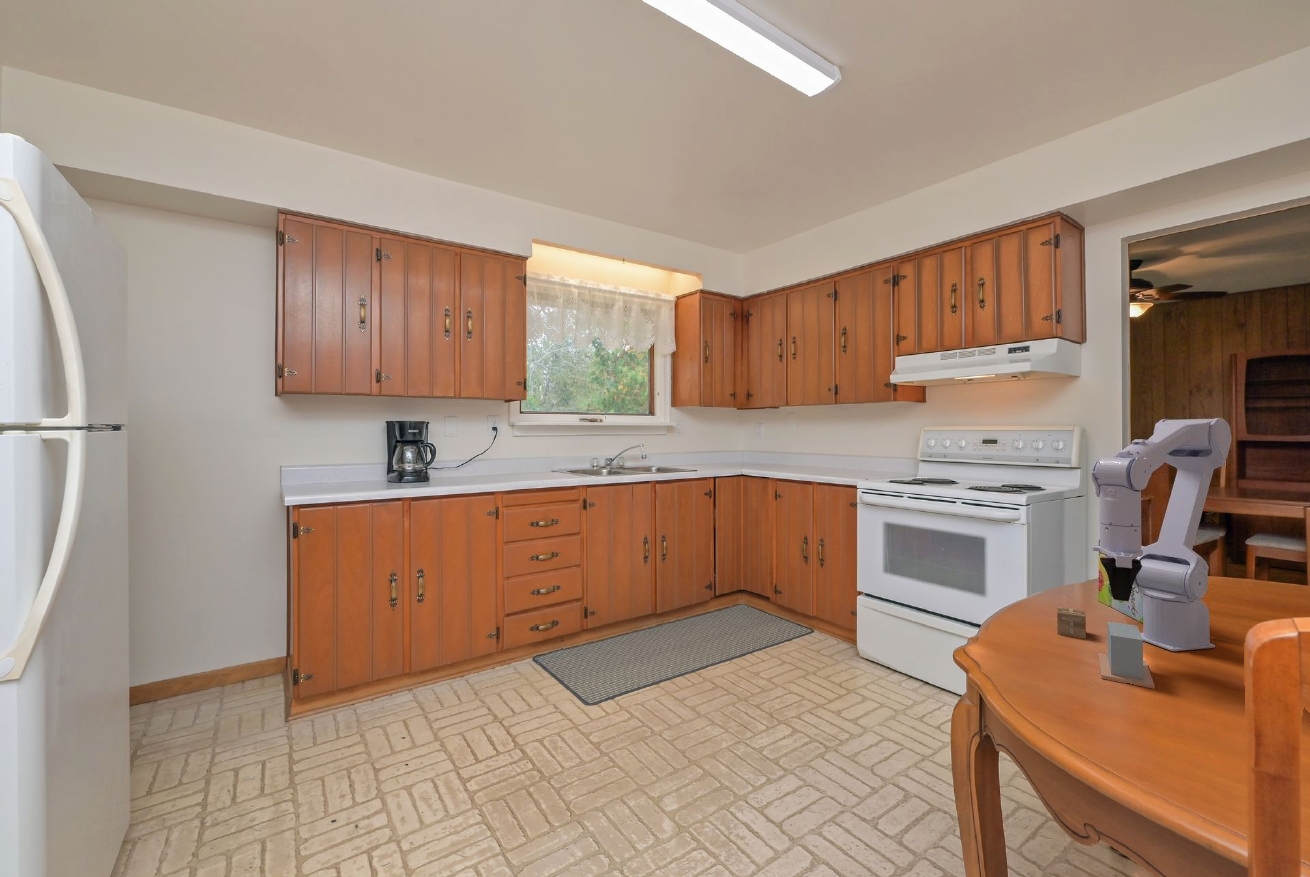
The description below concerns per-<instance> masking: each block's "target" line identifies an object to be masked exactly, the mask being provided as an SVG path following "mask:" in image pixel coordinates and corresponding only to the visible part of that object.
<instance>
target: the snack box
mask: <svg viewBox="0 0 1310 877" xmlns="http://www.w3.org/2000/svg"><path fill="white" fill-rule="evenodd" d="M1098 546H1100V538H1099V539H1098ZM1143 547H1145V546H1144V545H1141V548H1143ZM1101 557H1105V558H1112V557H1111V556H1108V555H1106V554H1104V553H1101V552H1099V551H1098V586H1097V587H1098V595H1097V599H1098V602H1100V603H1102V604H1104V605H1106V606H1107V607H1110V608H1112V609H1114V610H1116V611H1118V612H1120V613H1122V614H1124V615H1126V616H1128V617H1129V618H1131V619H1133V620H1136V622H1139V623H1142V624H1143V593H1139V588H1137V587H1135V585H1134V584H1133V587H1132V591H1131V595H1130V599H1129V601H1120V600H1114V599H1113V596H1112V593H1111V589H1110V584H1109V579H1108V575H1107V572H1106V570H1105V568H1104V567H1103V565H1102V563H1101V561H1100V558H1101ZM1135 559H1136V558H1135Z"/></svg>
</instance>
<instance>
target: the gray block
mask: <svg viewBox="0 0 1310 877" xmlns="http://www.w3.org/2000/svg"><path fill="white" fill-rule="evenodd" d="M1106 625H1107V655H1108V662H1109V666H1110V671H1111V674H1112V675H1117V676H1122V677H1128V678H1133V679H1138V680H1143V661H1144V641H1143V639H1142V637H1141V634H1140V633H1141V631H1140V629H1139V626H1138V625H1135V624H1128V623H1122V622H1113V621H1109V620H1108V621H1107V624H1106Z"/></svg>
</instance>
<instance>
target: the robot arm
mask: <svg viewBox="0 0 1310 877" xmlns="http://www.w3.org/2000/svg"><path fill="white" fill-rule="evenodd" d="M1231 432H1232V431H1231V426H1230V424H1229V422H1227V421H1226V420H1225V419H1224V418H1222V417H1214V418H1195V419H1193V418H1190V419H1188V418H1187V419H1169V418H1163V419H1160V420H1159V421H1158V422H1156V423H1155V425H1154V429H1153V434H1152V435H1151V436H1150V437H1149V438H1148V439H1143V438H1142V439H1141V438H1140V439H1137V438H1136V439H1134V440H1132V441H1131V444H1129V445H1128V446H1126V447H1125V448H1123V449H1121V450H1120V451H1118V452H1117V453H1116V454H1115V455H1113V456H1104V457H1101V458H1100V459H1098V460H1096V461H1095V462H1094V464H1093V466H1092V471H1091V474H1090V475H1091V481H1092V483H1093V484H1094V488H1095V489H1094V490H1095V495H1096V497H1097V498H1099V539H1100V546H1099V545H1091V550H1092V551H1093V552H1098V553H1099V552H1101V553H1104V554H1106V555H1108V556H1111V557H1112V558H1105V557H1101V558H1100V561H1101V563H1102V565H1103V567H1104V568H1105V570H1106V572H1107V575H1108V579H1109V584H1110V589H1111V593H1112V596H1113V599H1114V600H1120V601H1129V599H1130V595H1131V591H1132V587H1133V584H1134V585H1135V587H1137V588H1139V593H1143V623H1142V628H1143V629H1142V632H1140V634H1141V637H1142V639H1143V642H1146V643H1149V644H1152V645H1155V646H1158V647H1160V648H1163V649H1165V650H1169V651H1171V652H1181V651H1190V650H1191V651H1192V650H1203V649H1212V648H1215V647H1216V645H1215V644H1214V643H1210V634H1211V633H1210V630H1211V629H1210V612H1209V608H1208V606H1207V605H1206V603H1205V602H1204V601H1203V600H1202V599H1201V598H1203V597H1205V595H1206V592H1207V590H1208V588H1209V578H1208V575H1209V565H1208V563H1207V562H1206V560H1205V559H1204V558H1203V557H1202V556H1201V555H1200V554H1198V553H1197V552H1195V551H1194V550H1193V548H1194V545H1195V541H1196V537H1197V533H1198V529H1199V525H1200V522H1201V519H1202V514H1203V510H1204V506H1205V504H1206V499H1207V496H1208V492H1209V489H1210V488H1209V487H1210V484H1211V481H1212V478H1213V474H1214V470H1216V469H1218V468H1221V467H1222V466H1224V465H1225V463H1226V461H1227V460H1226V459H1228V456H1229V451H1230V448H1231V445H1232V439H1233V438H1232V434H1231ZM1164 463H1166V464H1167V465H1170V466H1172V467H1174V468H1175V469H1177V472H1176V476H1175V478H1174V482H1173V485H1172V489H1171V494H1170V496H1169V500H1168V504H1167V507H1166V511H1165V515H1164V518H1163V522H1162V526H1161V528H1160V532H1159V536H1158V540H1157V541H1156V542H1154V543H1152V544H1149V545H1146V546H1144V547H1143V548H1141V546H1142V490H1145V489H1146V488H1147V486H1148V483H1149V481H1150V478H1151V477H1152V475H1153V474H1152V473H1154V472H1155V471H1156V470H1157V469H1159V468H1160V467H1161V466H1162V465H1164ZM1135 558H1136V559H1135Z"/></svg>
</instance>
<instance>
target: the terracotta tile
mask: <svg viewBox="0 0 1310 877" xmlns="http://www.w3.org/2000/svg"><path fill="white" fill-rule="evenodd" d="M1097 653H1098V654H1097V655H1098V656H1097V657H1098V664H1099V670H1100V676H1101V679H1102V680H1108V681H1113V682H1118V683H1121V684H1122V683H1123V684H1127V683H1130V684H1129V685H1132V684H1134V686H1139V687H1144V688H1148V689H1153V690H1155V683H1154V680H1153V677H1152V675H1151V671H1150V668H1149V666H1148V663H1147V661H1146V660H1143V680H1138V679H1133V678H1128V677H1122V676H1117V675H1112V674H1111V671H1110V666H1109V662H1108V653H1107V654H1106V653H1101V652H1097Z"/></svg>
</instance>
